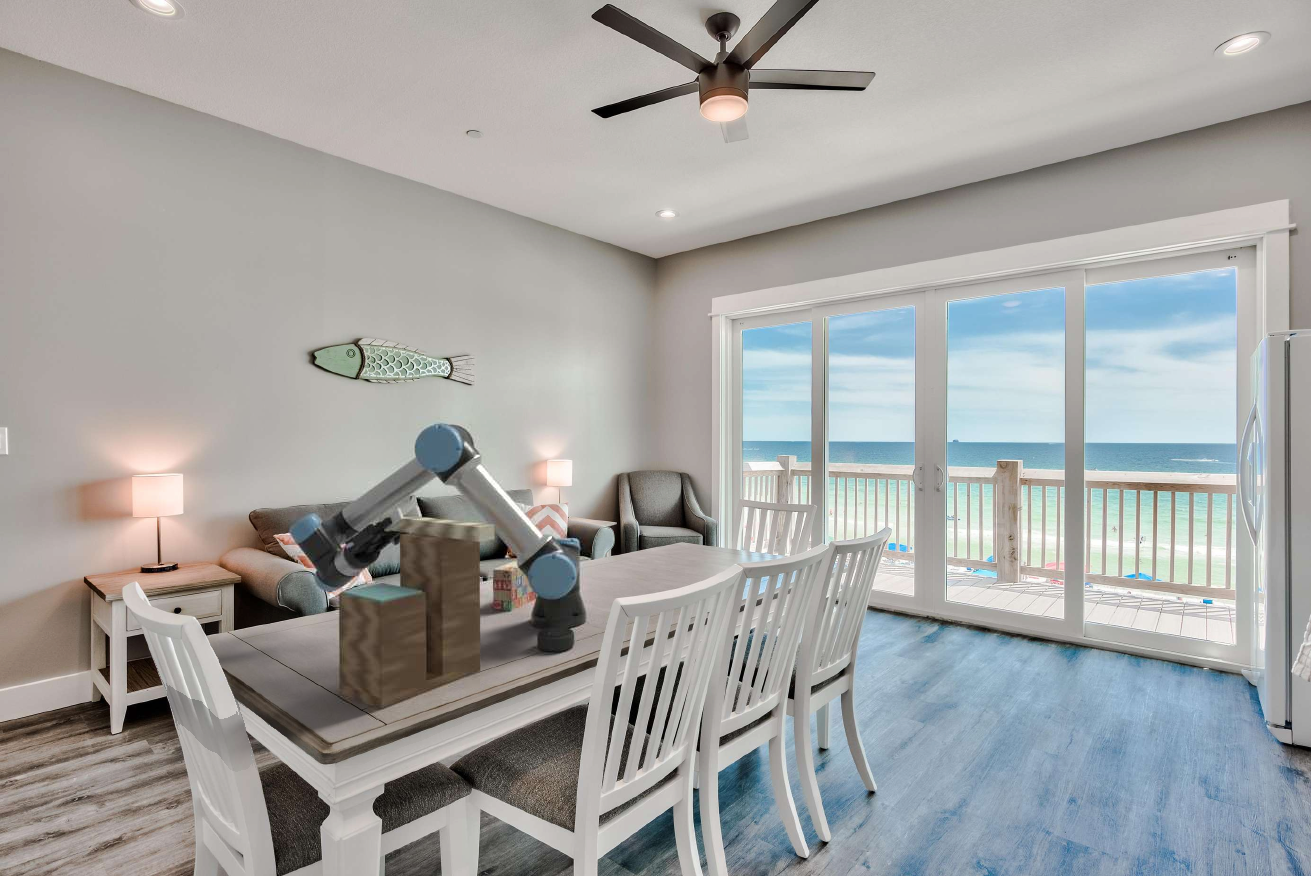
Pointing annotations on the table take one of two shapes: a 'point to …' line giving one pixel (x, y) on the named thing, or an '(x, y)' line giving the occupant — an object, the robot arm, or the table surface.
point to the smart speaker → (555, 639)
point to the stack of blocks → (510, 588)
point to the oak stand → (413, 624)
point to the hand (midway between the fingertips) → (409, 512)
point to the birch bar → (444, 528)
